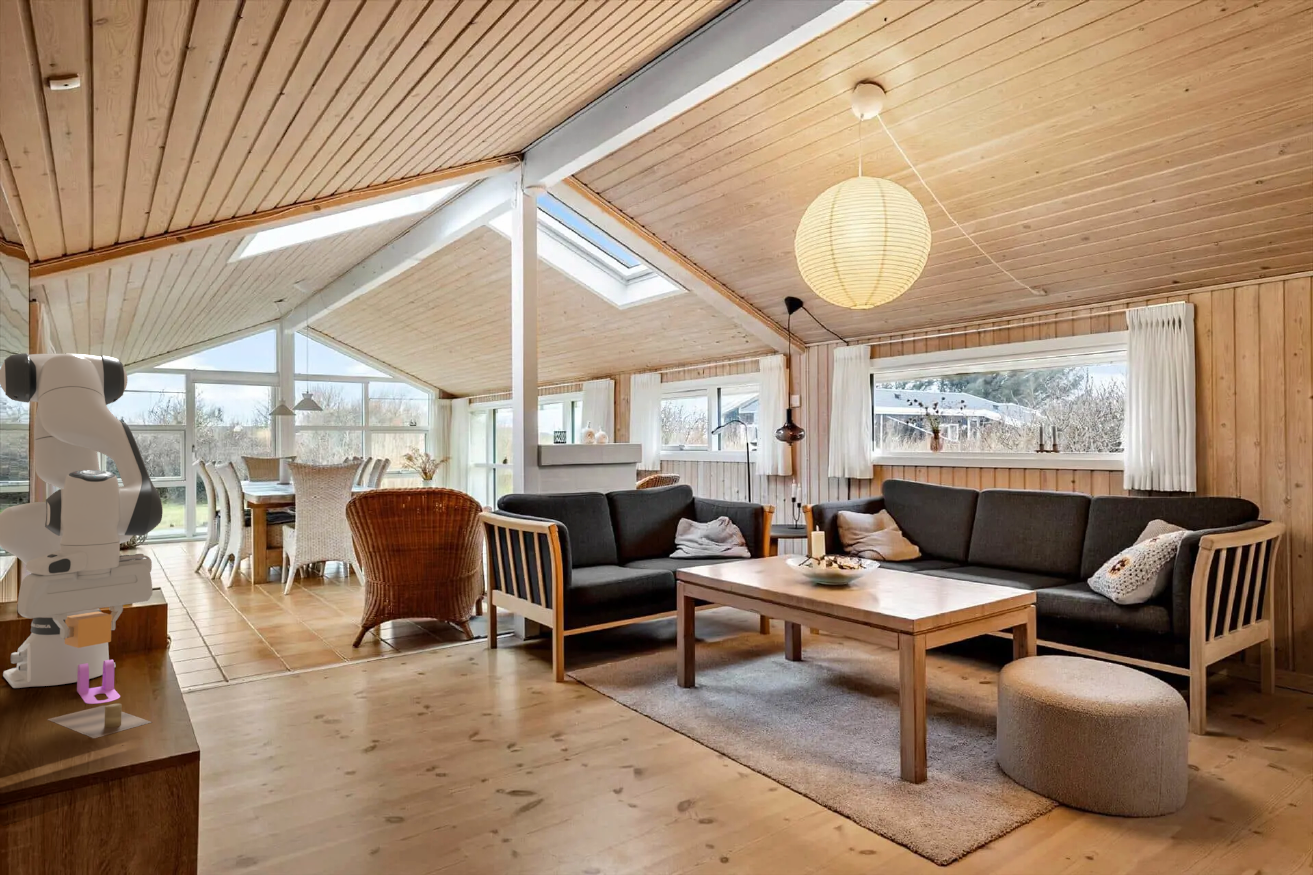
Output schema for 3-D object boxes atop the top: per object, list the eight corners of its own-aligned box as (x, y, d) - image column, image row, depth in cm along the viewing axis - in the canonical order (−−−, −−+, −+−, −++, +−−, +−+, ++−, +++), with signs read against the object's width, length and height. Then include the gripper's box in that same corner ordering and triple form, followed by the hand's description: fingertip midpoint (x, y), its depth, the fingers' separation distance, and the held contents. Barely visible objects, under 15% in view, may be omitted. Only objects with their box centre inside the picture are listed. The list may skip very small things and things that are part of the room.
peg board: (46, 726, 135) (47, 699, 135) (104, 711, 143) (104, 686, 143) (93, 745, 126) (94, 717, 126) (152, 729, 133) (152, 702, 134)
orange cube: (64, 643, 136) (65, 616, 136) (97, 638, 141) (98, 611, 141) (77, 647, 134) (78, 620, 134) (110, 641, 138) (111, 614, 138)
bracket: (76, 697, 152) (77, 663, 152) (110, 691, 156) (111, 657, 156) (87, 712, 142) (88, 676, 143) (122, 706, 146) (123, 670, 147)
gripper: (143, 551, 148) (141, 621, 148) (14, 563, 131) (12, 643, 130) (160, 553, 145) (158, 625, 145) (30, 566, 127) (27, 648, 127)
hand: (88, 633), depth 137 cm, fingers closed on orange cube, 5 cm apart
